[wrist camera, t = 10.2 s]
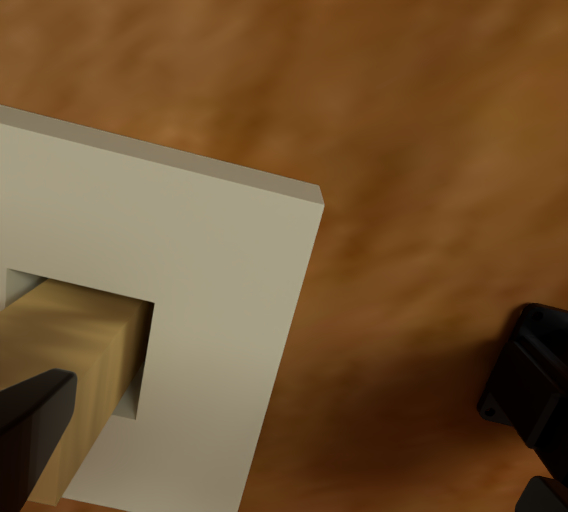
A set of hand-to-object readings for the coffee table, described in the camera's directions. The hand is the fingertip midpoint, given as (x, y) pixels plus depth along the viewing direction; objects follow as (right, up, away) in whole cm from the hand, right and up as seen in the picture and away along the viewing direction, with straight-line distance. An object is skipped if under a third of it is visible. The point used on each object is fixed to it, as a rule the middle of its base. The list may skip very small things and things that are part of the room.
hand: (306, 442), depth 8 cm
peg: (-9, +1, +13) cm, 15 cm away
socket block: (-9, +1, +13) cm, 15 cm away
